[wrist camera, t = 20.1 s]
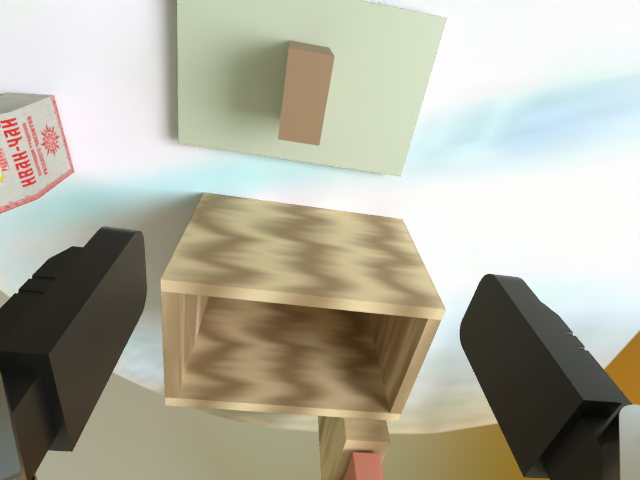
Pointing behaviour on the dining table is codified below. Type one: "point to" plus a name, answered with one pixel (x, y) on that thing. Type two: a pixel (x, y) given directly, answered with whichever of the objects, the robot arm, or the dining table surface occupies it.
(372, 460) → the key bar
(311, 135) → the lid
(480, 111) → the dining table surface
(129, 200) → the dining table surface
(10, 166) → the tea box
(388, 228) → the wooden box
